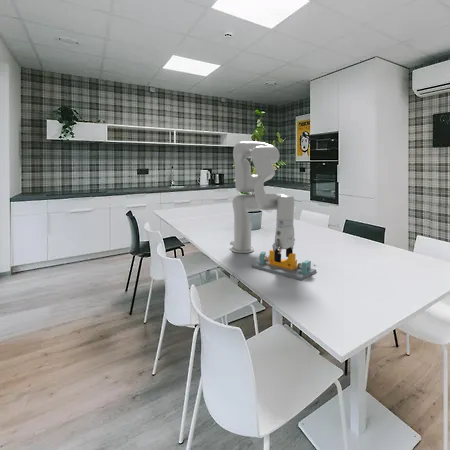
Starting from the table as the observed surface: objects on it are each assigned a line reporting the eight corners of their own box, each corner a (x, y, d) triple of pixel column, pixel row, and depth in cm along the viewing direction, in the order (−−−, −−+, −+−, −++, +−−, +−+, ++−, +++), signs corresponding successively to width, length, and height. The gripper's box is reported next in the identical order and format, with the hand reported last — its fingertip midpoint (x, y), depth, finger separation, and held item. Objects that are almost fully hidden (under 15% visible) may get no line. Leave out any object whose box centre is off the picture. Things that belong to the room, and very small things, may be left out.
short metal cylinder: (259, 261, 147) (259, 255, 147) (260, 260, 150) (260, 254, 149) (268, 262, 146) (268, 256, 145) (269, 260, 149) (269, 254, 148)
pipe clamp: (296, 266, 140) (297, 253, 139) (292, 269, 137) (292, 255, 135) (274, 261, 147) (274, 248, 146) (269, 263, 144) (269, 250, 143)
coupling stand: (251, 267, 146) (251, 254, 145) (268, 260, 156) (268, 248, 155) (300, 280, 129) (301, 266, 127) (316, 272, 139) (317, 258, 138)
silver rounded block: (297, 270, 135) (297, 263, 135) (300, 268, 138) (300, 261, 137) (306, 272, 132) (306, 265, 132) (309, 270, 135) (310, 264, 134)
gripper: (281, 226, 129) (280, 265, 133) (301, 221, 142) (300, 257, 145) (266, 224, 134) (265, 262, 138) (287, 219, 147) (286, 254, 150)
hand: (283, 259), depth 141 cm, fingers open, 9 cm apart
